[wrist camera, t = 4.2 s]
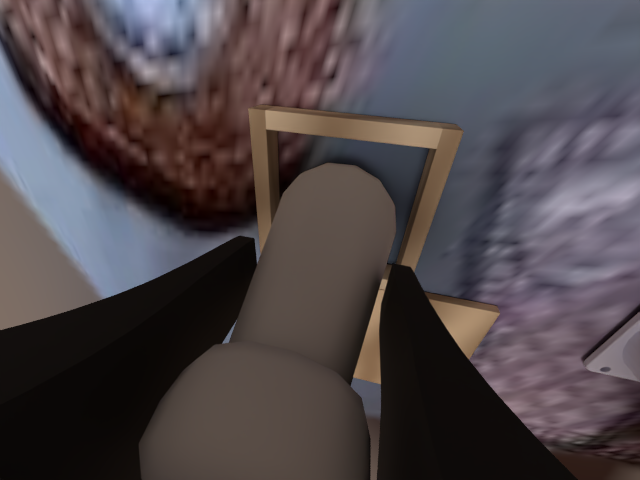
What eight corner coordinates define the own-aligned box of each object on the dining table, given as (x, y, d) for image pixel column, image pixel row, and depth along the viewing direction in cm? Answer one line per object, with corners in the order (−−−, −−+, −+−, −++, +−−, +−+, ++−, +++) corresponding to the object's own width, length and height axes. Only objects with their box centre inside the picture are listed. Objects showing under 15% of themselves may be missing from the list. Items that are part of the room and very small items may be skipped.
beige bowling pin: (343, 259, 17) (271, 574, 6) (275, 201, 16) (45, 475, 5) (418, 202, 14) (517, 634, 3) (341, 125, 13) (94, 420, 2)
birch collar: (455, 124, 12) (463, 130, 10) (405, 277, 17) (406, 293, 16) (261, 104, 13) (248, 108, 12) (270, 252, 18) (261, 265, 17)
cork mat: (496, 306, 16) (500, 313, 16) (440, 392, 23) (441, 399, 22) (326, 273, 18) (325, 278, 17) (317, 362, 24) (316, 368, 24)
